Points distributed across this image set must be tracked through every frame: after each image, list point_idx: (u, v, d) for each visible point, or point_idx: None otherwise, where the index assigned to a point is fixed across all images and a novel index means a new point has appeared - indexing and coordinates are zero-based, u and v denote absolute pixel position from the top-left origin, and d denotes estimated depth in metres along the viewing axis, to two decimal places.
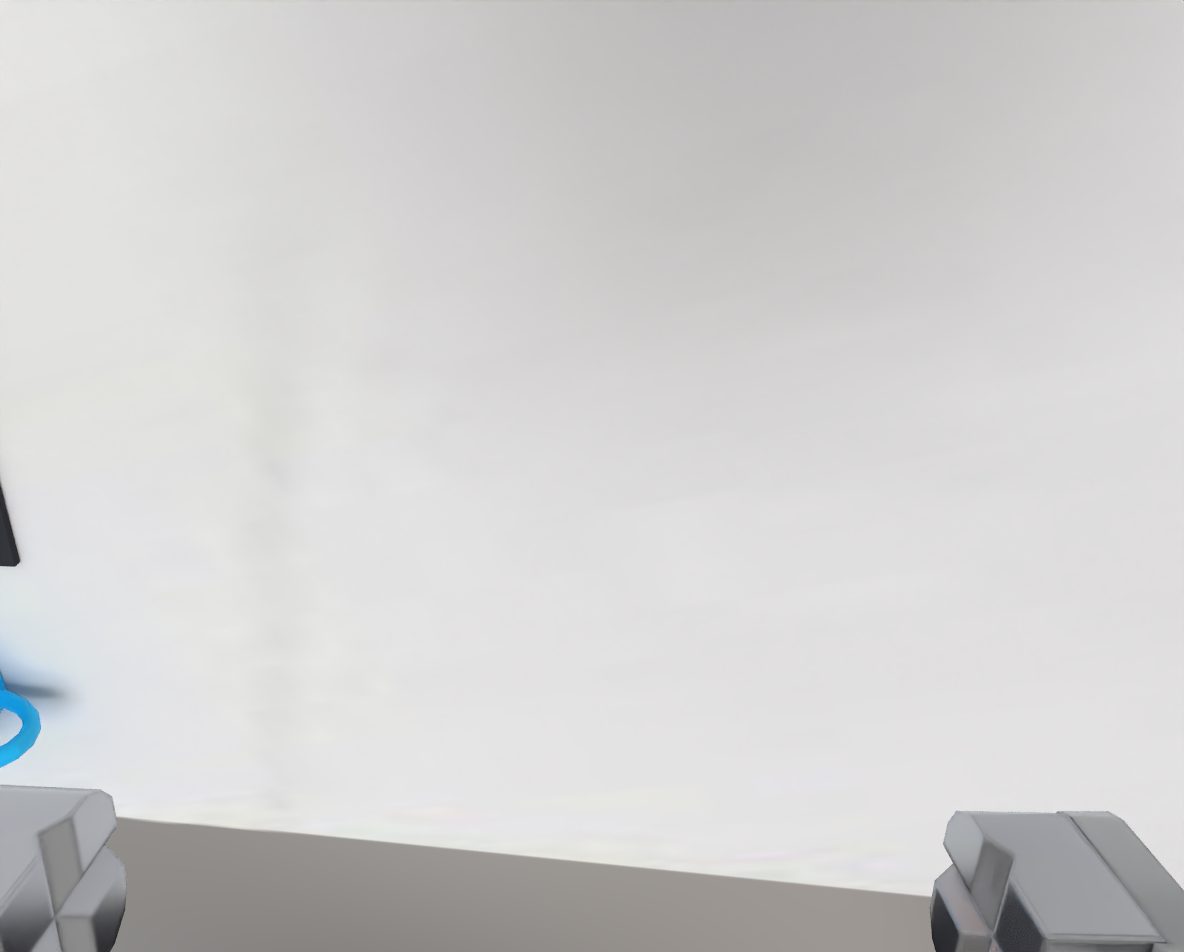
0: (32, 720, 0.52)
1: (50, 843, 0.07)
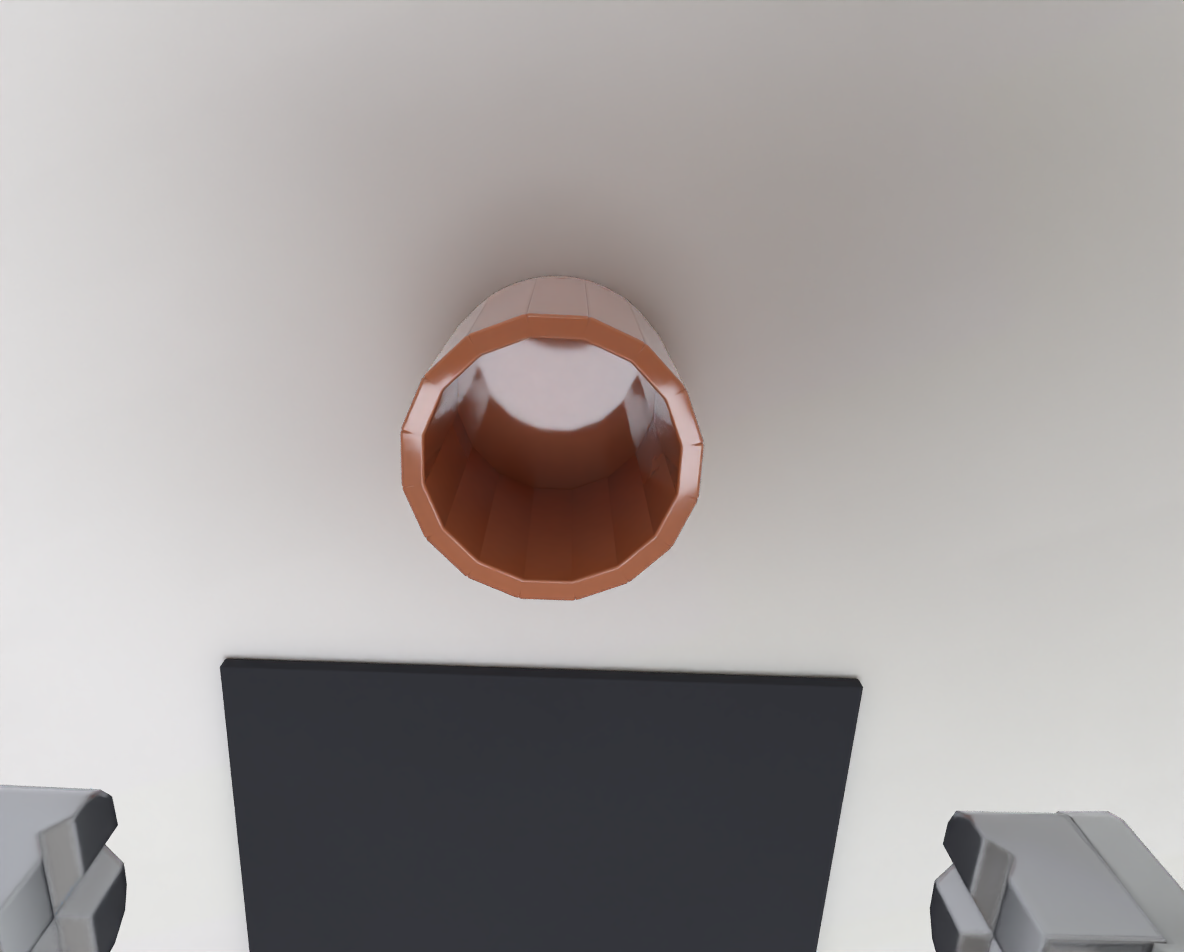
0: None
1: (50, 843, 0.07)
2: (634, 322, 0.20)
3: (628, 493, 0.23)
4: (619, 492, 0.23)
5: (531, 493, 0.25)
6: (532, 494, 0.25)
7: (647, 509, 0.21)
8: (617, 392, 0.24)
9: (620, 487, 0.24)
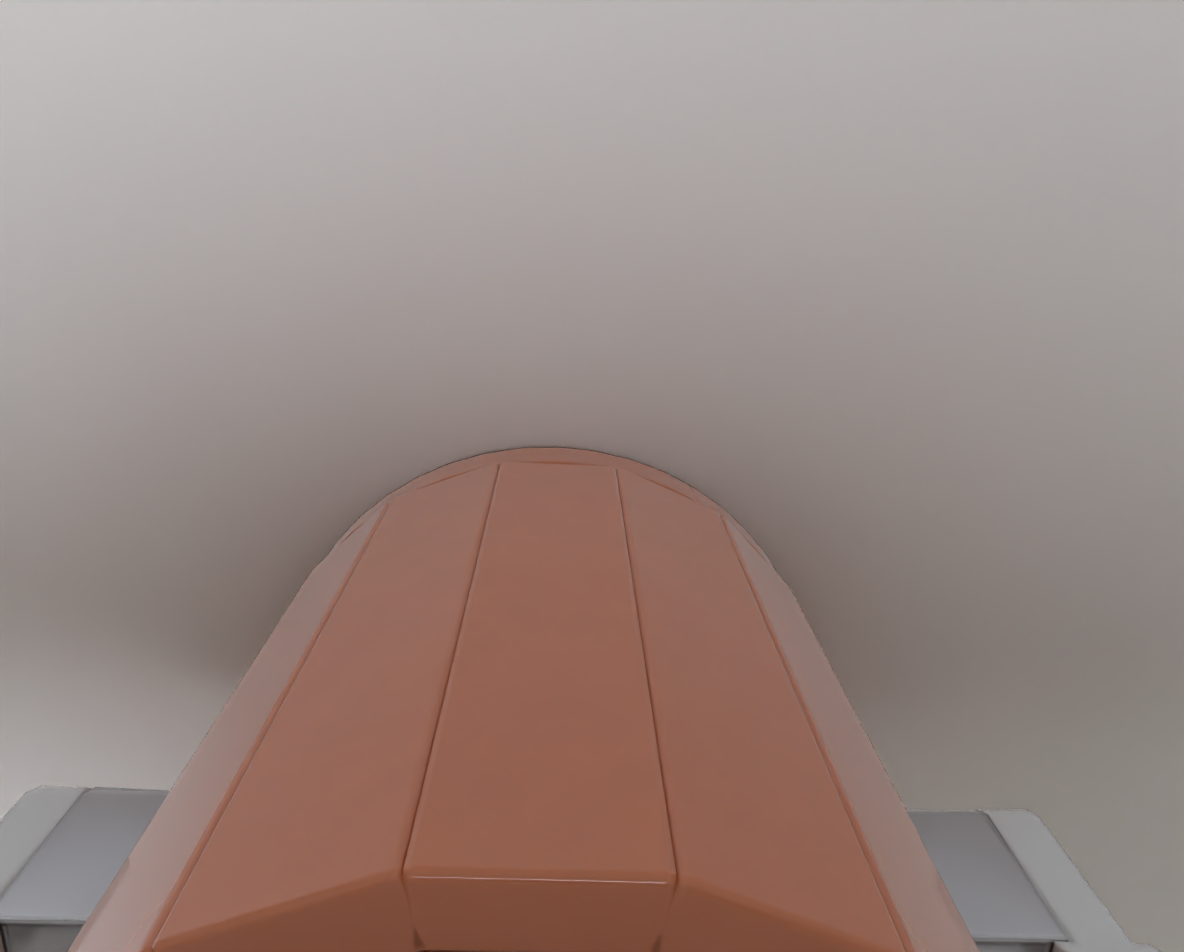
0: None
1: None
2: (791, 695, 0.06)
3: None
4: None
5: None
6: None
7: None
8: None
9: None
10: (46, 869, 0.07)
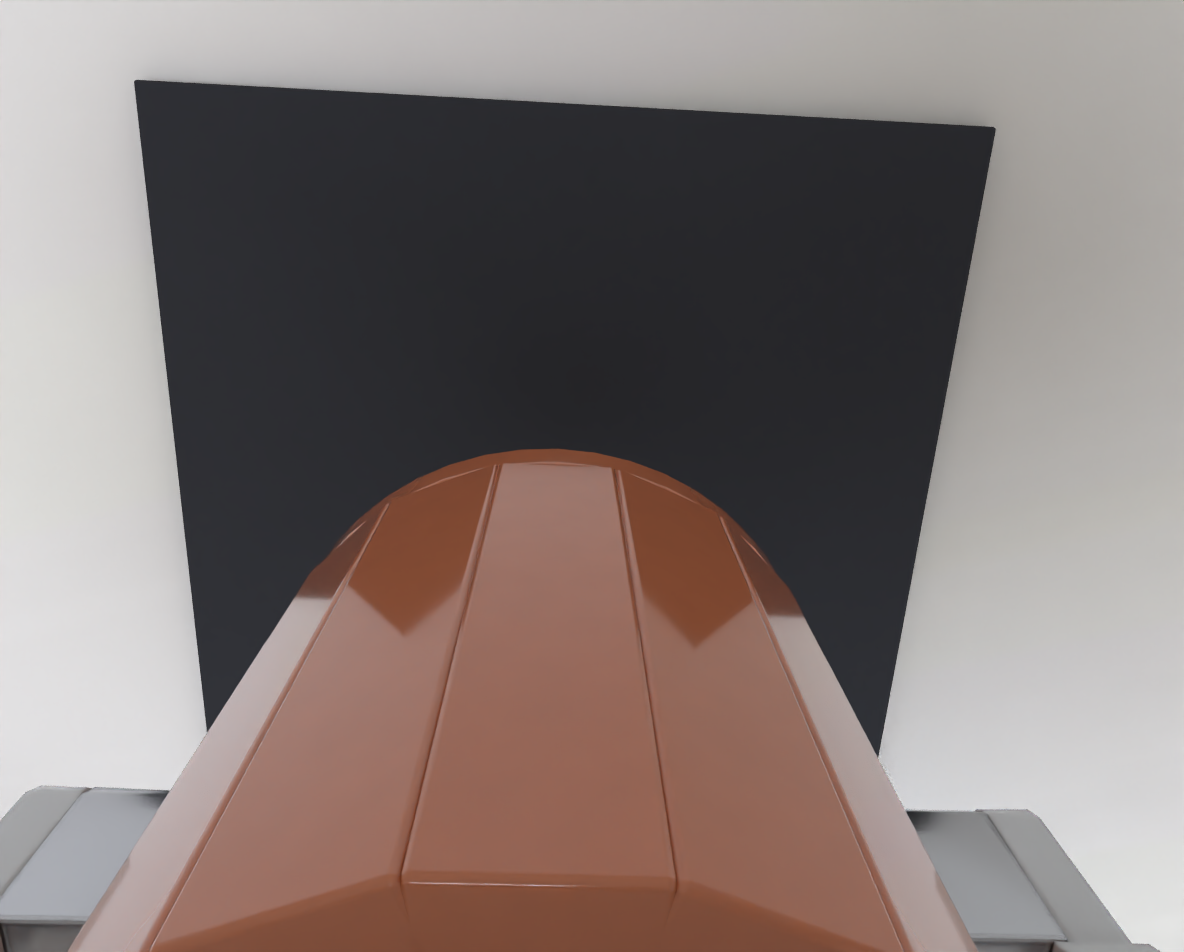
0: None
1: None
2: (791, 698, 0.06)
3: None
4: None
5: None
6: None
7: None
8: None
9: None
10: (46, 870, 0.07)
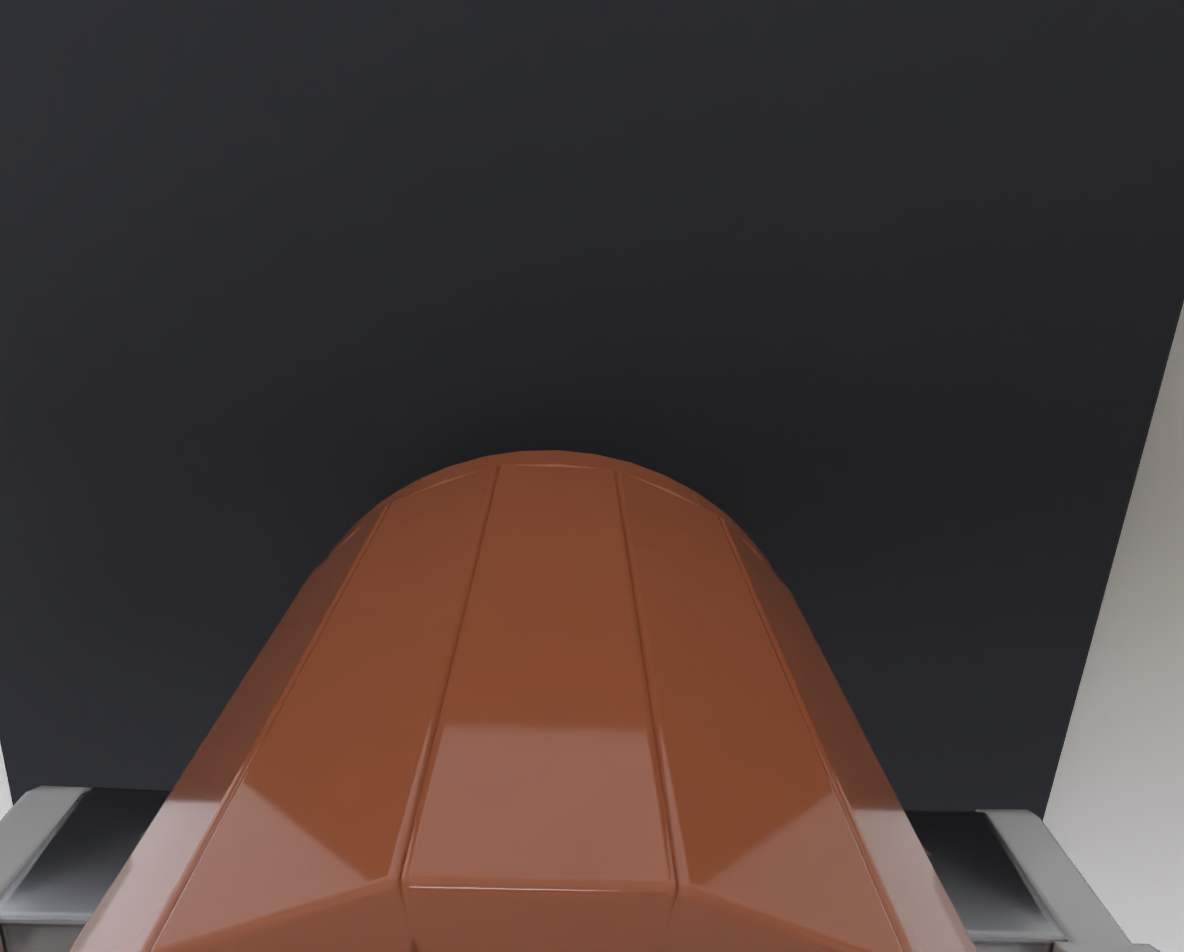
0: None
1: None
2: (791, 701, 0.06)
3: None
4: None
5: None
6: None
7: None
8: None
9: None
10: (46, 869, 0.07)
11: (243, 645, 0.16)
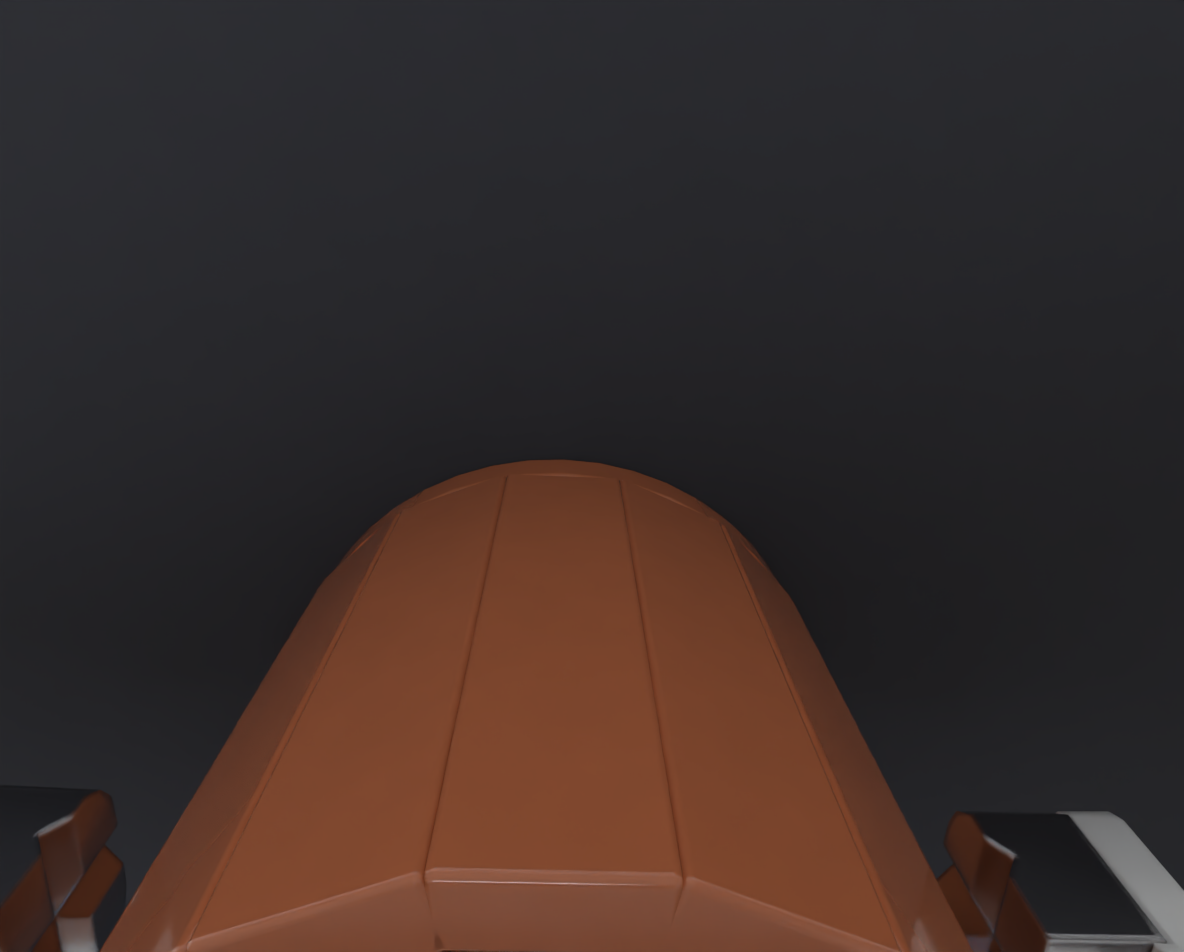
0: None
1: (50, 843, 0.07)
2: (791, 704, 0.07)
3: None
4: None
5: None
6: None
7: None
8: None
9: None
10: None
11: (143, 823, 0.12)
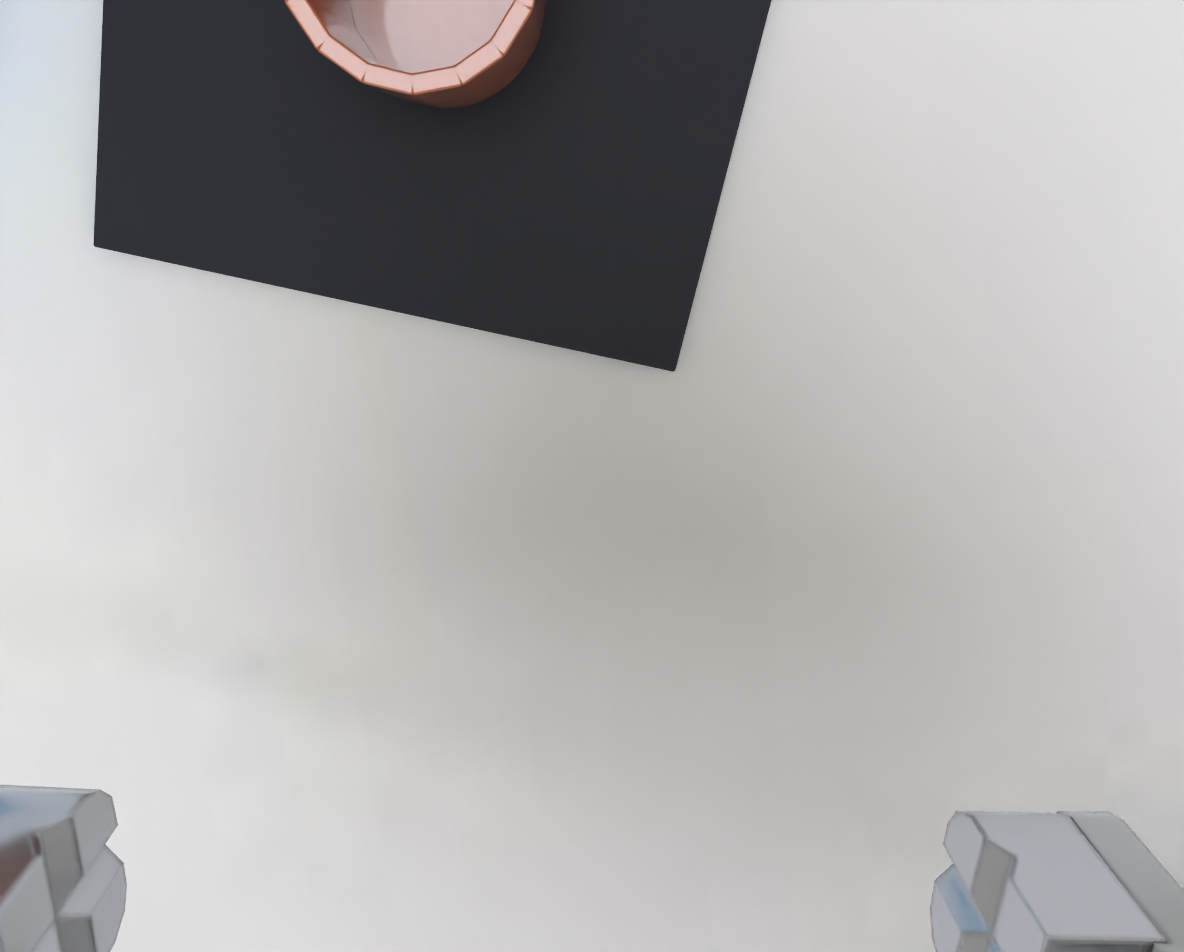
0: None
1: (50, 843, 0.07)
2: (511, 62, 0.24)
3: (350, 36, 0.25)
4: (348, 30, 0.25)
5: None
6: None
7: (344, 42, 0.23)
8: (435, 53, 0.27)
9: (352, 33, 0.25)
10: None
11: None
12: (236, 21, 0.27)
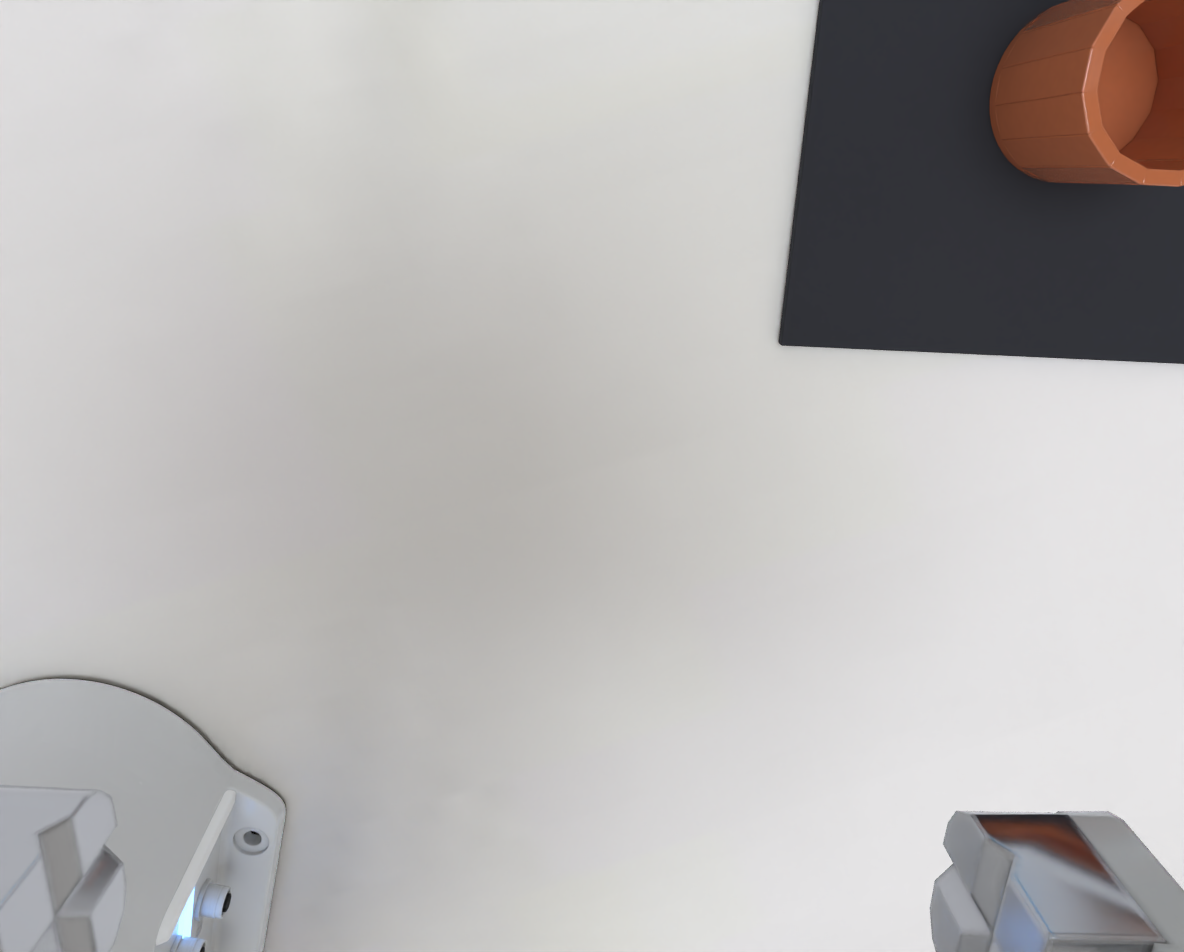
0: None
1: (50, 843, 0.07)
2: (1073, 168, 0.30)
3: None
4: None
5: None
6: None
7: None
8: None
9: None
10: None
11: None
12: None
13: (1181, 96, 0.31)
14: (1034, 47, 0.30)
